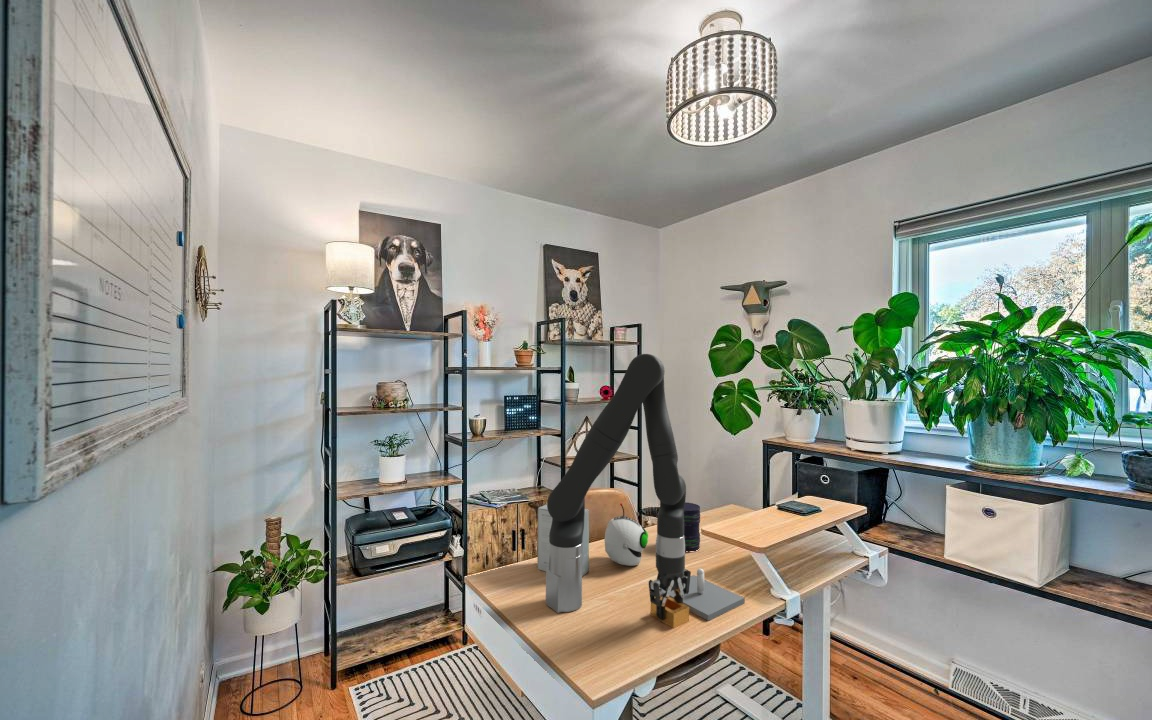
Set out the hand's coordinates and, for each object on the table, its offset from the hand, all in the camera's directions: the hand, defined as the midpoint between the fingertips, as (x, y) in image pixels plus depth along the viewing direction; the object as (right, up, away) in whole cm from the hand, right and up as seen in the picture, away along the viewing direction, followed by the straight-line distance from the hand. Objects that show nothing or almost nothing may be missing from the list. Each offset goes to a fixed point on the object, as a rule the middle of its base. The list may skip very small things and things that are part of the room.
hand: (669, 614), depth 128 cm
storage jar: (+15, -1, +49) cm, 52 cm away
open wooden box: (0, -1, 0) cm, 1 cm away
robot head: (-8, -1, +34) cm, 35 cm away
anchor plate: (+11, -1, +11) cm, 15 cm away
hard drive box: (-29, -1, +28) cm, 40 cm away
